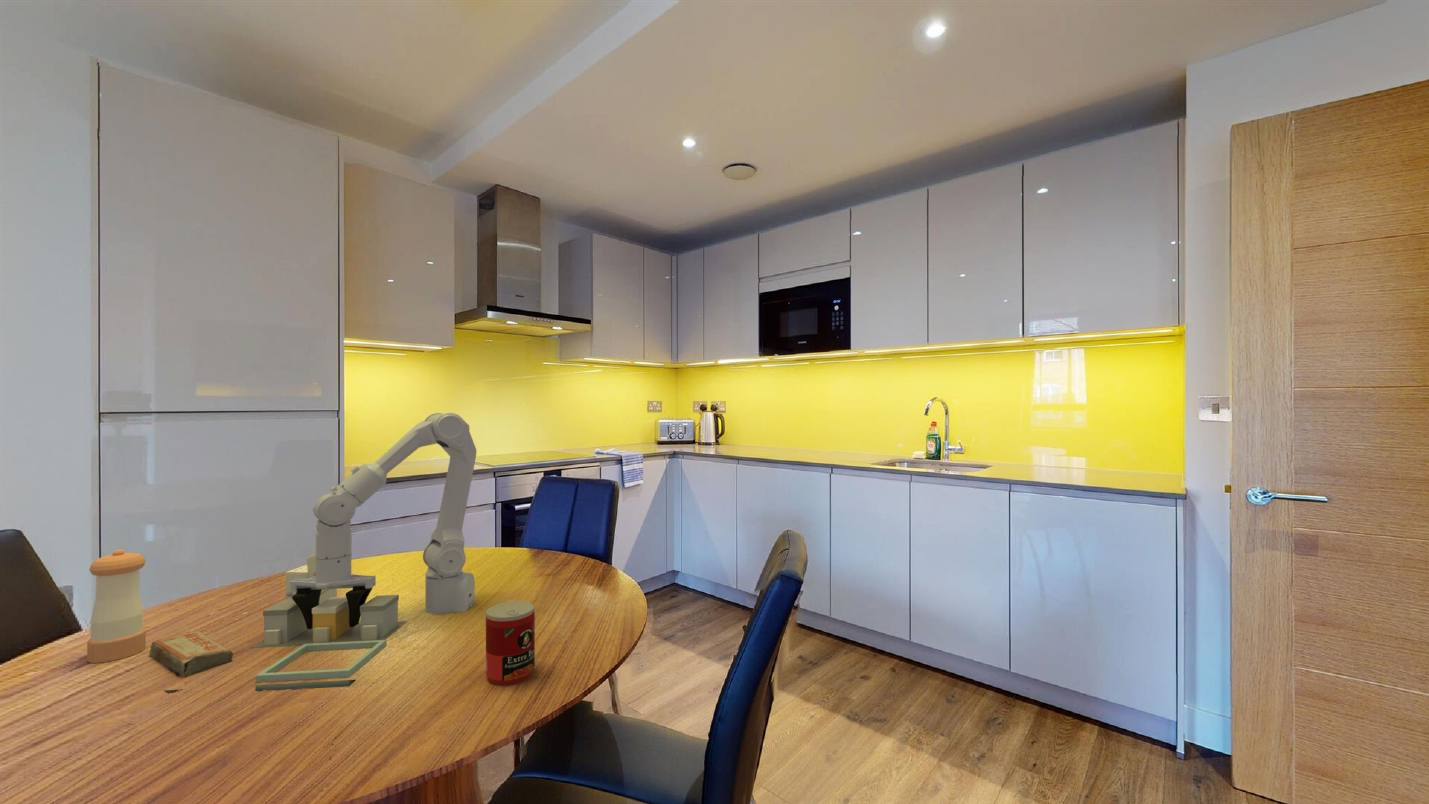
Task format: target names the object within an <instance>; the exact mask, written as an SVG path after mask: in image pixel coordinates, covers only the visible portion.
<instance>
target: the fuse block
mask: <svg viewBox="0 0 1429 804" xmlns="http://www.w3.org/2000/svg"><path fill="white" fill-rule="evenodd" d="M407 623H408V620H398V625H397V626H396V627H395V628H394V629H392V630H391V631H390V632H389V633H387V634H386V635H385V636H384V637H378V625H364V626H363V627H362V638H361V622H359V624H357V625H356V626H354V627H352V628H351V629H350V630H348V631H347V632H345V633H344V634H342V635H341V636H340V637H338V638H337V639H335V640H330V627H318V628H315V629H314V635H313V628H312V629H307V630H305V631H304V632H302V633H300V634H299V635H297V636H296V637H294V638H292V639H291V640H289V641H287V642H281V629H275V630H266V631H264V630H263V640H261V641H260V642H257V643H256V644H254V645H253V646H251V647H250V649H259V648H260V649H262V648H277V647H278V648H279V647H280V648H281V647H301V646H302V645H304V644H313V643H333V642H354V641H374V640H386V641H387V639H388V638H389V637H390V636H392V635H393V634H394V633H395V632H396V631H398V630H399V629H401V627H403V625H405V624H407Z"/></svg>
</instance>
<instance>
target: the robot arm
mask: <svg viewBox="0 0 1429 804" xmlns="http://www.w3.org/2000/svg"><path fill="white" fill-rule="evenodd" d="M431 445H439V446H440V447H441V448H442V449H443V450H444V451H445V452H446V454H447V455H448V456H449V463H448V467H447V472H446V478H445V483H444V487H443V493H442V498H441V503H440V508H439V512H438V519H437V524H436V527H435V529H434V530H433V532H432V533H431V535H430V540H429V542H428V544H427V545H426V546H425V548H424V549H423V552H422V560H423V562H424V564H425V565H426V566H427V569H426V572H425V582H424V583H425V585H424V586H425V590H424V593H425V598H424V599H425V604H424V605H425V610H424V611H425V613H426V614H430V615H442V614H449V613H451V614H452V613H465V612H467V611H468V610H469V609H470V608H472V607H473V605H474V604H475V601H476V600H475V594H476V593H475V589H476V587H475V582H476V581H475V575H474V573H472V572H465V571H463V568H464V566H465V565H466V560H467V559H466V557H467V556H466V554H465V549H464V547H465V538H464V535H463V533H464V532H463V525H464V522H465V515H466V511H467V505H468V499H469V494H470V490H471V489H470V488H471V484H472V479H473V474H474V468H475V464H476V458H477V446H476V444H475V443H474V440H473V437H472V435H471V432H470V425H469V424H468V423H467V422H466V421H465V420H464V419H463V417H461V415H459V414H457V413H453V412H446V413H442V412H437V413H432V414H430V415H428V416H427V417H426V418H425V419H424V420H421V421H420V422H418V423H417V424H416V425H414V426H413V427H412V428H411V429H409V430H408V432H406V433H405V435H403V436H401V438H400V439H399V440H398V441H396V443H394V444H393V445H392V446H391V447H390V448H389V449H388V450H387V451H386V452H384V454H383V455H381V457H379V458H378V459H377V460H376V461H375V462H374V463H373V462H372V463H362V464H361V465H360V466H357V465H356V466H354V467H353V468H351V470H350V471H351V474H350V475H348V476H347V477H346V478H345V479H343V480H342V481H341V482H340V483H339V484H338V485H337V486H336V485H333V486H332V487H330V489H329V490H330V492H329V493H325V494H324V495H322V496H321V497H320V498H319V499H317V500H316V503H315V505H314V508H312V512H313V514H314V516H315V517H316V519H317V521H316V526H315V527H316V533H315V554H316V577H310V578H298V579H295V580H293V581H291V582H290V591H297V592H296V594H295V595H293V596H292V598H293V601H294V602H295V603H296V604H297V606H298V607H299V609H300V610H301V612H302V614H303V617H304V620H305V623H306V626H307V629H312V628H313V614H312V608H314V607H316V606H317V605H319V599H320V594H321V590H322V589H337V590H338V589H339V590H340V589H351V590H348V591H347V592H345V597H346V598H347V601H348V607H349V626H350V627H354V626H356V625H357V624H359V623H360V621H361V612H360V606H362V605H363V604H365V603H366V602H367V599H368V598H369V595H370V594H371V592H372V590H373V588H374V587H375V586H376V582H377V580H376V579H377V577H376V575H363V574H353V573H352V540H353V539H352V534H353V533H352V529H351V523H352V522H351V521H352V519H353V517H354V516H355V512H356V508H358V507H361V506H362V505H363V504H364V503H366V501H367V500H369V499H370V498H371V497H372V496H374V494H375V493H377V492H378V491H379V490H380V489H381V488H382V487H384V485H386V484H387V477H388V474H389V473H390V472H392V470H394V469H395V468H396V467H397V466H399V465H400V464H401V463H402V462H403V461H405V460H406V459H407V458H408V457H409V456H411V455H412V454H413V453H415V452H416V451H417V450H418V449H419V448H422V447H427V446H431Z"/></svg>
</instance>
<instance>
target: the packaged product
mask: <svg viewBox="0 0 1429 804" xmlns="http://www.w3.org/2000/svg"><path fill="white" fill-rule="evenodd" d="M150 645H151V646H150V647H149V648H150V650H149V653H148V655H149V658H155V659H156V660H157V662H159V663H160V664H163V665H164V666H165V667H166V668H167V670H168V671H170V672H174V673H175V675H176V676H177V677H179V678H180V677H182V678H186V677H188V676H191V675H194V674H196V673H199V672H202V671H204V670H208V669H210V668H213V667H216V666H219V665H222V664H226V663H228V662H231V661H232V659H233V657H234V652H233V651H232V650H230V649H229V648H227V647H225V646H224V645H223V644H220V643H218V642H216V641H215V640H214V639H212V638H210V637H209V636H207V635H206V634H204V633H202V632H201V631H186V632H183V633H179V634H178V633H177V634H174V635H172V636H171V635H170V636H166V637H163V638H160V639H157V640H154V641H152V642H151V644H150ZM162 690H163V689H162ZM178 690H181V691H184V690H183V688H182V689H181V688H179V689H169V690H168V689H164V690H163V691H162V692H164V691H165V692H164V693H166V694H167V693H168V695H170V694H169V693H171V694H174V693H177V692H176V691H178ZM178 692H179V691H178Z"/></svg>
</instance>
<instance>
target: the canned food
mask: <svg viewBox="0 0 1429 804" xmlns="http://www.w3.org/2000/svg"><path fill="white" fill-rule="evenodd" d="M535 612H536V611H535V605H534V604H533V603H531V602H528V601H522V600H518V601H517V600H515V601H505V602H501V603H497V604H495V605H492V606H491V607H489V608H488V609H487V610H486V612H485V614H486V615H485V674H486V678H487V680H488V681H489V683H491V684H494V685H497V686H508V685H514V684H515V685H516V684H518V683H521V682H524V681H526V680H528V679H529V678H530V677H531V676H532V675H533V673H534V671H535V666H536V665H535V663H536V661H535V649H536V648H535V647H536V646H535V641H536V639H535V637H536V635H535V634H536V629H535V627H536V624H535V622H536V620H535V619H536V617H535V615H536V613H535Z"/></svg>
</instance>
